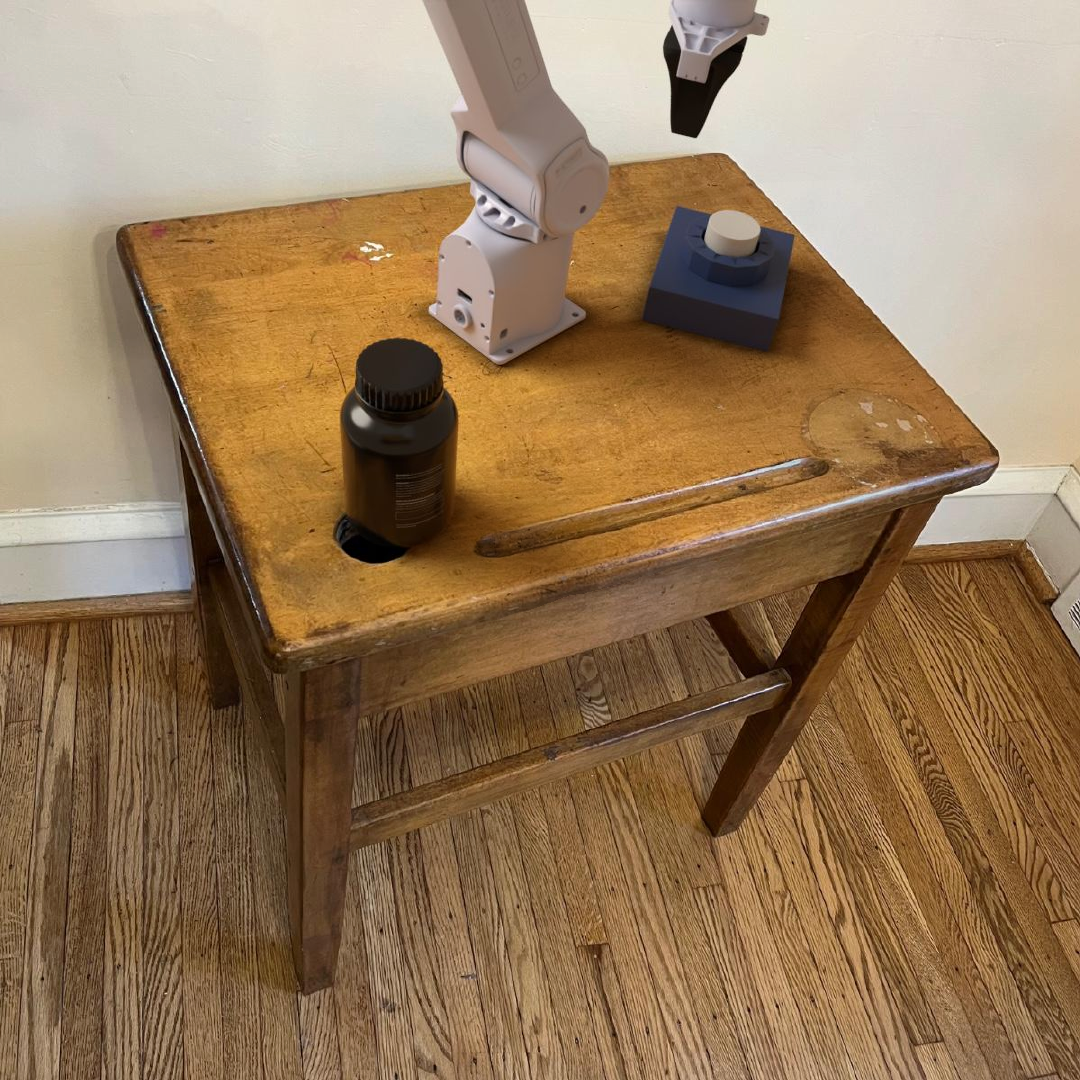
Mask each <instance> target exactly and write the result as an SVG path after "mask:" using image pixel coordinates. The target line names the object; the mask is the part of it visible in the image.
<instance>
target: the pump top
mask: <svg viewBox="0 0 1080 1080" xmlns="http://www.w3.org/2000/svg"><path fill="white" fill-rule="evenodd" d="M760 226H761V225H760V223H759V221H757V220H756V219H755V218H754V217H753V216H751V215H749V214H747V213H745V212H742V211H737V210H733V209H732V210H731V209H730V210H729V209H724V210H719V211H716V212H714V213H713V214H712V216H711V217H710V219H709V223H708V226H707V230H706V234H705V238H704V242H705V245H706V246H707V247H708V248H710V249H711V250H713V251H715V252H716V253H718V254H721V255H725V256H729V257H733V258H739V257H749V256H751V255H752V254H753V253H754V251H755V248H756V244H757V241H758V238H759V235H760V231H761V229H760Z"/></svg>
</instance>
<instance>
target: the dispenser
mask: <svg viewBox="0 0 1080 1080" xmlns="http://www.w3.org/2000/svg"><path fill="white" fill-rule="evenodd" d="M712 215H713V214H711V213H708V212H703V211H700V210H696V209H692V208H688V207H683V206H679V205H676V207H675V208H674V212H673V214H672V218H671V219H670V224H669V227H668V230H667V232H666V236H665V238H664V242H663V244H662V248H661V250H660V253H659V256H658V259H657V262H656V266H655V269H654V270H653V274H652V278H651V280H650V283H649V286H648V290H647V295H646V299H645V304H644V307H643V312H642V317H641V320H642V321H643V322H647V323H651V324H655V325H660V326H663V327H667V328H671V329H675V330H679V331H683V332H687V333H691V334H695V335H699V336H702V337H706V338H711V339H714V340H719V341H722V342H726V343H730V344H734V345H739V346H741V347H746V348H750V349H754V350H757V351H762V352H766V353H768V352H769V349H770V346H771V344H772V341H773V338H774V334H775V332H776V329H777V326H778V324H779V320H780V316H781V310H782V304H783V300H784V294H785V289H786V284H787V278H788V273H789V268H790V262H791V258H792V252H793V247H794V242H795V236H796V235H795V234H794V233H789V232H786V231H781V230H778V229H773V228H769V227H765V226H761V225H760V229H761V231H760V235H759V238H758V241H757V244H756V248H755V251H754V253H753V254H752V255H751V256H749V257H739V258H733V257H729V256H725V255H721V254H718V253H716V252H715V251H713V250H711V249H710V248H708V247H707V246H706V245H705V242H704V238H705V234H706V230H707V226H708V223H709V219H710V217H711V216H712Z"/></svg>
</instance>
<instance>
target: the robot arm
mask: <svg viewBox="0 0 1080 1080" xmlns="http://www.w3.org/2000/svg"><path fill="white" fill-rule="evenodd" d="M421 1H422V2H423V5H424V8H425V10H426V13H427V15H428V17H429V19H430V22H431V25H432V27H433V29H434V32H435V34H436V36H437V39H438V41H439V43H440V46H441V48H442V51H443V54H444V55H445V57H446V58H445V59H447V63H448V65H449V67H450V70H451V73H452V74H453V77H454V79H455V82H456V84H457V86H458V89H459V91H460V95H459V96H458V98H457V99H456V101H455V102H454V103H453V106H452V107H451V108H450V111H449V113H450V116H451V119H452V121H453V123H454V126H455V133H456V140H455V142H456V143H455V156H456V161H457V164H458V166H459V168H460V169H461V170H462V172H463V173H464V174H465V175H467V176H468V177H469V178H470V187H469V188H470V189H469V194H470V195H471V196H472V197H473V198H474V201H475V205H474V207H473V208H472V210H471V213H470V214H469V216H468V217H467V218H466V220H465V221H464V222H463V223H462V224H461V225H460V226H459V227H458V228H457V229H455V230H454V231H452V232H451V233H450V234H448V235H447V236H446V237H445V238H444V239H443V240H442V242H441V244H440V246H439V249H438V263H437V264H438V265H437V285H436V286H437V287H436V302H435V303H433V304H431V305H429V307H428V314H429V315H430V316H432V318H434V319H436V320H437V321H439V322H440V323H441V324H442V325H444V326H445V327H446V328H448V329H449V330H450V331H452V332H453V333H454V334H455V335H456V336H458V337H459V338H461V339H462V340H463V341H465V342H466V343H467V344H469V345H470V346H472V347H473V348H474V349H475V350H476V351H478V352H479V353H480V354H482V355H483V356H484V357H486V358H487V359H489V360H490V361H491V362H493V363H494V364H495V365H500V366H501V365H504V364H506V363H509V362H510V361H511V360H514V359H515V358H518V357H519V356H521V355H522V354H524V353H526V352H528V351H531V349H533V348H535V347H537V346H538V345H540V344H542V343H544V342H546V341H547V340H550V339H551V338H553V337H555V336H556V335H558V334H560V333H562V332H564V331H565V330H567V329H570V328H571V327H572V326H575V325H576V324H578V323H580V322H582V321H583V320H585V319H586V316H587V311H585V309H583V308H581V307H580V306H579V305H578V304H576V303H574V302H573V301H571V300H570V299H568V298H567V297H566V293H567V292H566V291H567V284H568V277H569V273H570V265H571V259H572V252H573V246H574V242H575V241H574V240H575V233H576V232H578V231H579V230H581V229H582V228H584V227H585V226H586V225H587V224H589V222H591V220H592V219H593V218H594V217H595V216H596V214H597V213H598V212H599V210H600V208H601V207H602V205H603V203H604V200H605V198H606V195H607V193H608V192H607V191H608V189H609V182H610V173H611V171H610V164H609V160H608V158H607V157H606V155H605V154H604V153H603V151H601V150H600V149H598V148H596V147H595V146H593V144H592V143H591V142H590V139H589V135H588V133H587V130H586V127H585V126H584V125H583V123H582V122H581V121H580V120H579V119H578V117H577V116H576V115H575V114H574V112H573V111H572V110H571V109H570V108H569V106H568V105H567V104H566V103H565V102H564V100H563V99H562V98H561V96H559V94H558V93H557V92H556V90H555V89H554V87H553V86H552V85H553V84H552V82H551V79H550V76H549V73H548V70H547V67H546V63H545V61H544V57H543V53H542V51H541V48H540V45H539V42H538V41H539V40H538V38H537V35H536V32H535V28H534V26H533V22H532V19H531V15H530V13H529V12H530V11H529V9H528V7H527V3H526V1H525V0H421ZM757 2H758V0H670V2H669V8H668V13H667V14H668V17H669V20H670V23H671V25H670V28H669V30H668V31H667V33H666V35H665V37H664V40H663V44H662V55H663V58H664V61H665V64H666V67H667V72H668V77H669V84H670V85H669V86H670V108H669V109H670V114H669V115H670V116H669V117H670V119H669V121H670V123H669V124H670V132H671V133H672V134H675V135H678V136H683V137H688V138H691V139H692V138H693V139H697V138H698V137H699V136H700V134H701V132H702V130H703V128H704V126H705V124H706V122H707V119H708V117H709V114H710V112H711V110H712V107H713V105H714V102H715V100H716V98H717V97H718V95H719V92H720V91H721V89H722V88H723V86H724V85H725V83H726V82H727V81H728V80H729V79H730V77H731V76H732V75H733V74H734V73H735V72H736V70H737V69H738V67H740V65H741V62H742V58H743V53H744V51H745V49H746V45H747V42H748V36H749V35H752V36H753V35H754V36H758V37H763V36H765V35H766V34H767V30H768V27H769V23H770V17H769V16H768V15H766V14H763V13H758V12H756V8H757V4H758V3H757Z"/></svg>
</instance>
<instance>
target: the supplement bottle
mask: <svg viewBox="0 0 1080 1080" xmlns="http://www.w3.org/2000/svg"><path fill="white" fill-rule="evenodd" d="M443 377H444V365H443V362H442V358H441V357H440V355H439V353H438V352H437V351H435V350H434V348H432V347H430V345H428V344H426V343H423V342H422V341H420V340H415V339H414V338H406V337H402V338H401V337H394V338H392V337H391V338H390V337H388V338H386V339H380V340H378V341H374V342H372V344H369V345H367V346H366V347H365V348H363V349H362V350H361V352H360V353H359V354H358V355H357V359H356V361H355V378H354V386H353V387H351V389H350V390H349V391H348V393H347V394H346V395H345V397H344V399H343V401H342V403H341V405H340V411H339V433H340V446H341V449H340V450H341V464H342V466H341V467H342V479H343V480H342V481H343V498H344V509H345V514H346V518H347V520H348V522H349V524H350V525H351V527H352V528H353V530H355V532H356V533H357V534H359V536H361V537H362V538H364V539H365V540H366V541H369V542H371V543H373V544H375V545H378V546H381V547H383V548H390V549H409V548H414V547H419V546H422V545H424V544H427V543H429V542H431V541H433V540H435V539H436V538H438V537H439V536H440V535H441V534H442V533H443V532H444V531H445V530H446V529H447V527H448V525H449V524H450V522H451V520H452V518H453V514H454V509H455V498H456V497H455V496H456V481H457V479H456V478H457V463H458V462H457V459H458V441H459V440H458V439H459V424H460V423H459V409H458V405H457V404H456V402H455V400H454V397H453V396H452V394H451V393H450V391H448V390H447V388H446V387H445V386H444V378H443Z"/></svg>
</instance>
